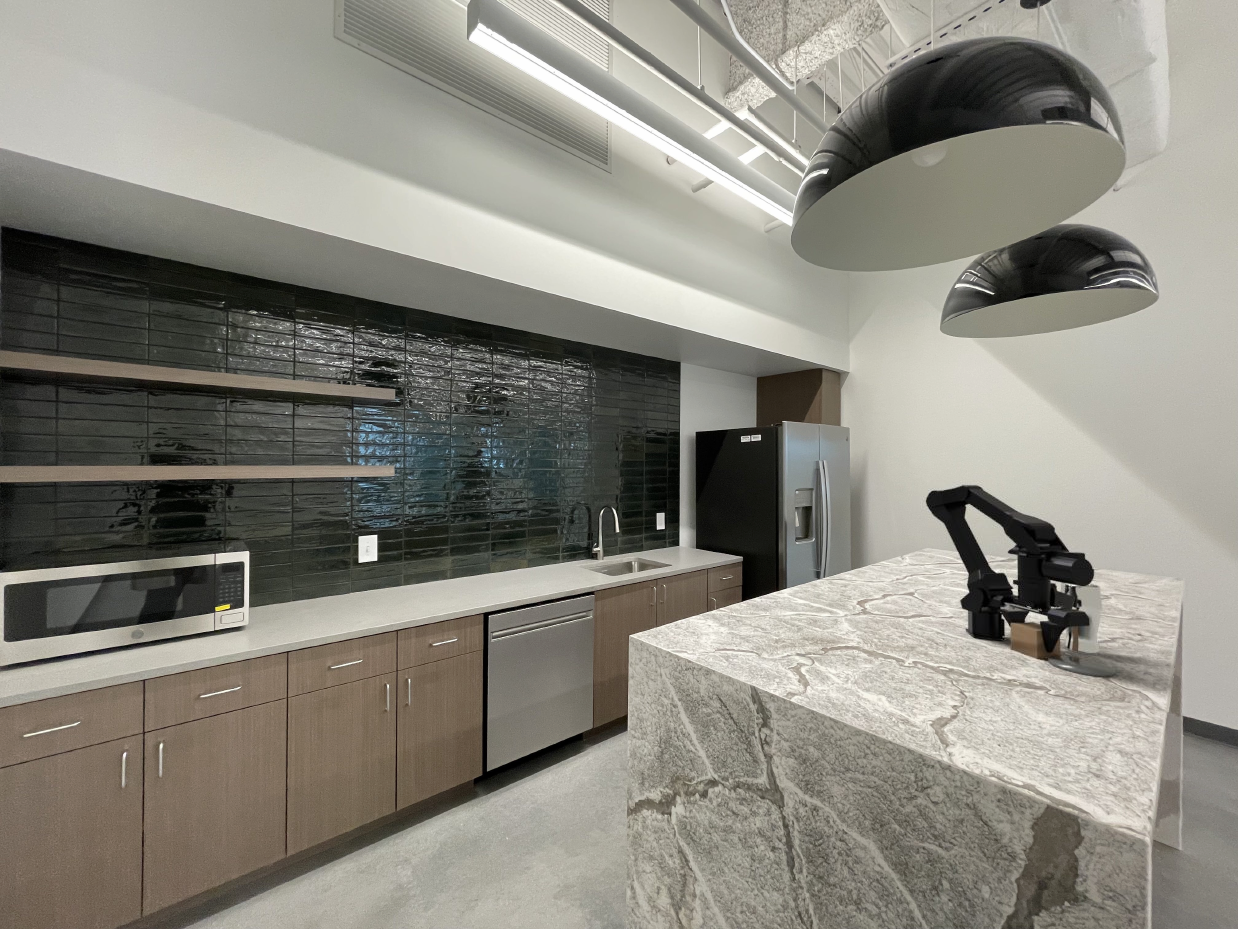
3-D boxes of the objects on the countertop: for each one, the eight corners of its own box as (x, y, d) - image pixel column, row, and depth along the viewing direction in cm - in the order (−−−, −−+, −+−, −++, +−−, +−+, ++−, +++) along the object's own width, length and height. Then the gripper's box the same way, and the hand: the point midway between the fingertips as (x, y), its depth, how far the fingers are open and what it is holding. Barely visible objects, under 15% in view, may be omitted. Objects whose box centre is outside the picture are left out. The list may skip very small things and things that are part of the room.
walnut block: (1037, 658, 108) (1036, 630, 108) (1011, 649, 113) (1010, 623, 114) (1060, 657, 108) (1059, 629, 109) (1033, 648, 114) (1032, 622, 115)
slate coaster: (1063, 672, 100) (1063, 669, 100) (1039, 656, 109) (1039, 653, 109) (1127, 679, 96) (1126, 676, 96) (1096, 662, 106) (1096, 659, 106)
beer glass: (1098, 658, 108) (1097, 588, 109) (1057, 649, 114) (1055, 583, 114) (1106, 652, 112) (1104, 585, 113) (1065, 643, 118) (1064, 580, 118)
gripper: (1110, 584, 104) (1112, 660, 103) (1024, 569, 122) (1025, 633, 121) (1065, 586, 102) (1067, 663, 101) (985, 570, 120) (986, 635, 120)
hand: (1035, 647), depth 111 cm, fingers closed on walnut block, 6 cm apart
